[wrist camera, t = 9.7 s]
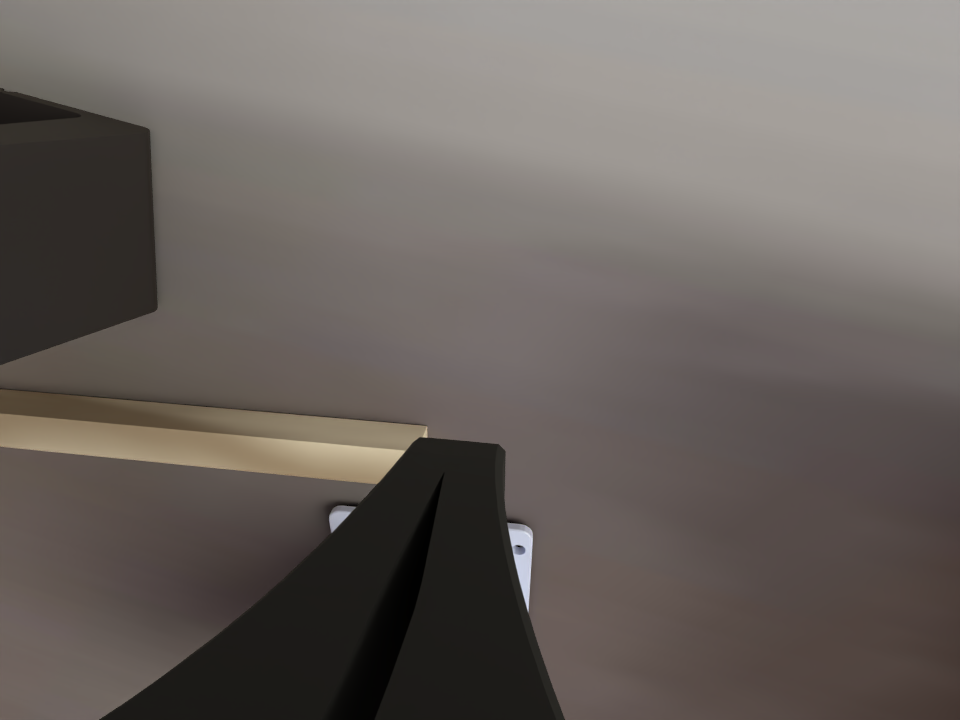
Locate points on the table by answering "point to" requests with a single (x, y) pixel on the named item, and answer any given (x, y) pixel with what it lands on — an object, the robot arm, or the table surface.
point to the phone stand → (71, 224)
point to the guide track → (204, 436)
